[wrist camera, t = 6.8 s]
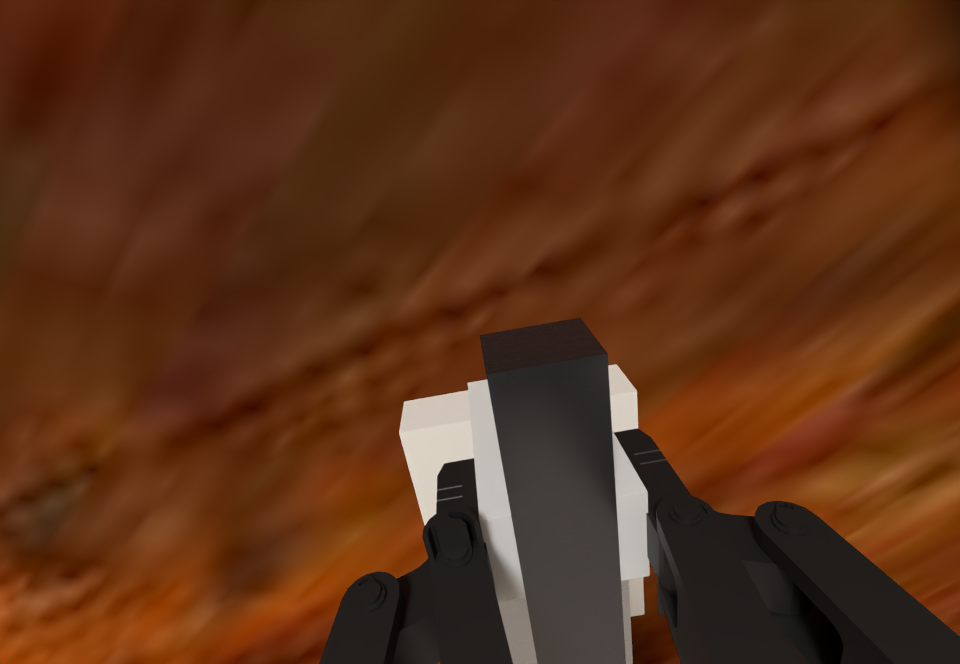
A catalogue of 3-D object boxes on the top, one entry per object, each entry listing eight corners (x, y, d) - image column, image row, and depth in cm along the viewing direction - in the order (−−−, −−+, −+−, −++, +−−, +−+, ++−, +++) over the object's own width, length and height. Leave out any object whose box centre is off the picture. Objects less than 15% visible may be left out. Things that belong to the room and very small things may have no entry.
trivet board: (404, 401, 26) (398, 432, 23) (616, 364, 26) (637, 390, 23) (457, 603, 32) (458, 647, 29) (627, 573, 32) (644, 614, 29)
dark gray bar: (415, 296, 14) (395, 390, 9) (602, 263, 14) (698, 337, 9) (514, 732, 24) (535, 911, 18) (629, 712, 24) (684, 885, 18)
